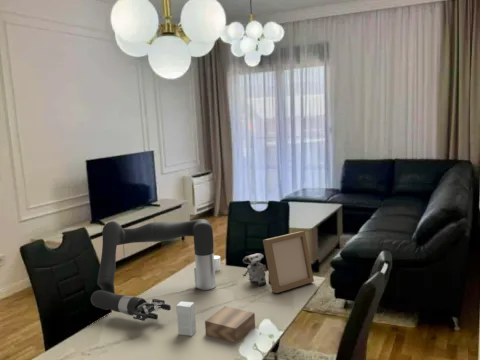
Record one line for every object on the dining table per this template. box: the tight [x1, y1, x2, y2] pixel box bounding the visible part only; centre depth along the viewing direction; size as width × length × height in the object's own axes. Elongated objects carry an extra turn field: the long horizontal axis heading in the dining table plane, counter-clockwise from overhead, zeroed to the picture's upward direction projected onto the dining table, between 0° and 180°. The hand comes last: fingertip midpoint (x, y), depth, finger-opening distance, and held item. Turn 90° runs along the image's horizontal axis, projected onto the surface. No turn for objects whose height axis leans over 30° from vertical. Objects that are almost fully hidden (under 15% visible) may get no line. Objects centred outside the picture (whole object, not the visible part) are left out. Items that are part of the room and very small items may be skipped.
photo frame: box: [262, 230, 315, 294], centre depth 212 cm, size 15×22×25 cm
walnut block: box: [204, 305, 256, 344], centre depth 171 cm, size 14×14×6 cm
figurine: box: [242, 253, 268, 287], centre depth 215 cm, size 9×12×15 cm
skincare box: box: [175, 301, 197, 337], centre depth 171 cm, size 6×4×12 cm
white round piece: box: [214, 254, 222, 272], centre depth 238 cm, size 7×7×7 cm
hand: (163, 312), depth 175 cm, fingers open, 8 cm apart
